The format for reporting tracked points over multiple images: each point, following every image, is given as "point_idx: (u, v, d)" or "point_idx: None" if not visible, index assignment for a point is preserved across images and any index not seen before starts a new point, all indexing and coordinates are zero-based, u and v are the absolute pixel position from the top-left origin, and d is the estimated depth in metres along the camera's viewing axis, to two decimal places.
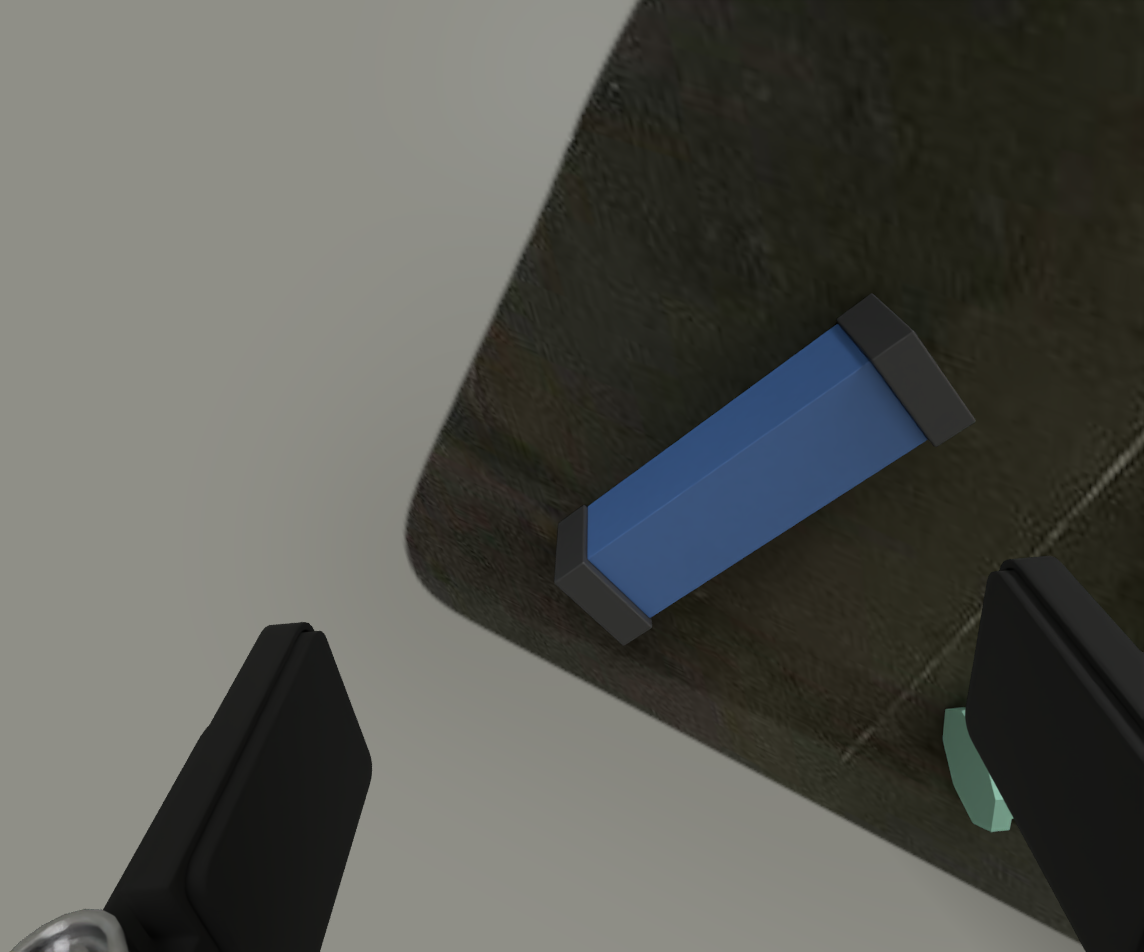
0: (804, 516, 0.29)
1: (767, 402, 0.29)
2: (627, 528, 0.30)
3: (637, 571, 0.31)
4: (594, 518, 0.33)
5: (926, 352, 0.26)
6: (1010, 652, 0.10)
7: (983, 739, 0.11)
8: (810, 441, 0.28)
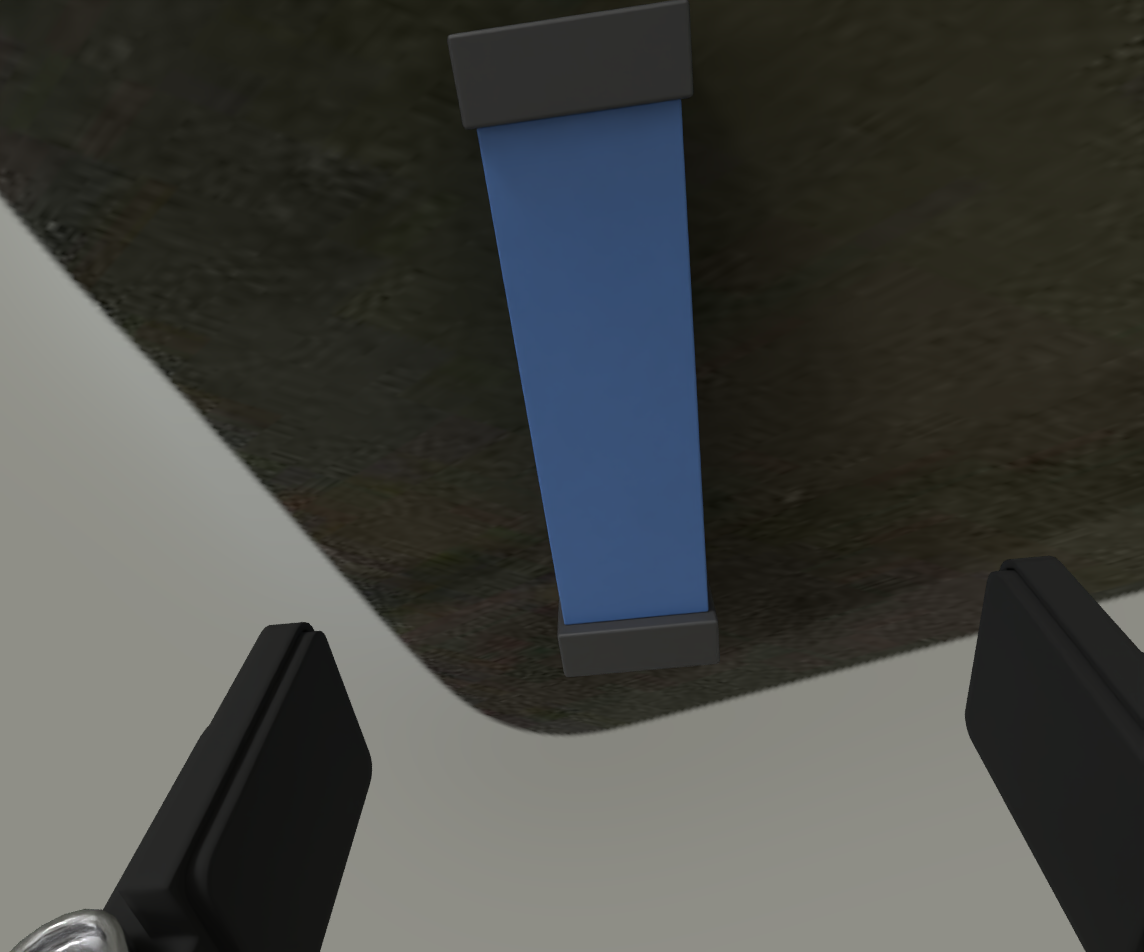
0: (689, 351, 0.17)
1: None
2: (553, 561, 0.20)
3: (624, 587, 0.21)
4: None
5: (499, 31, 0.14)
6: (1010, 652, 0.10)
7: (983, 739, 0.11)
8: (563, 281, 0.17)
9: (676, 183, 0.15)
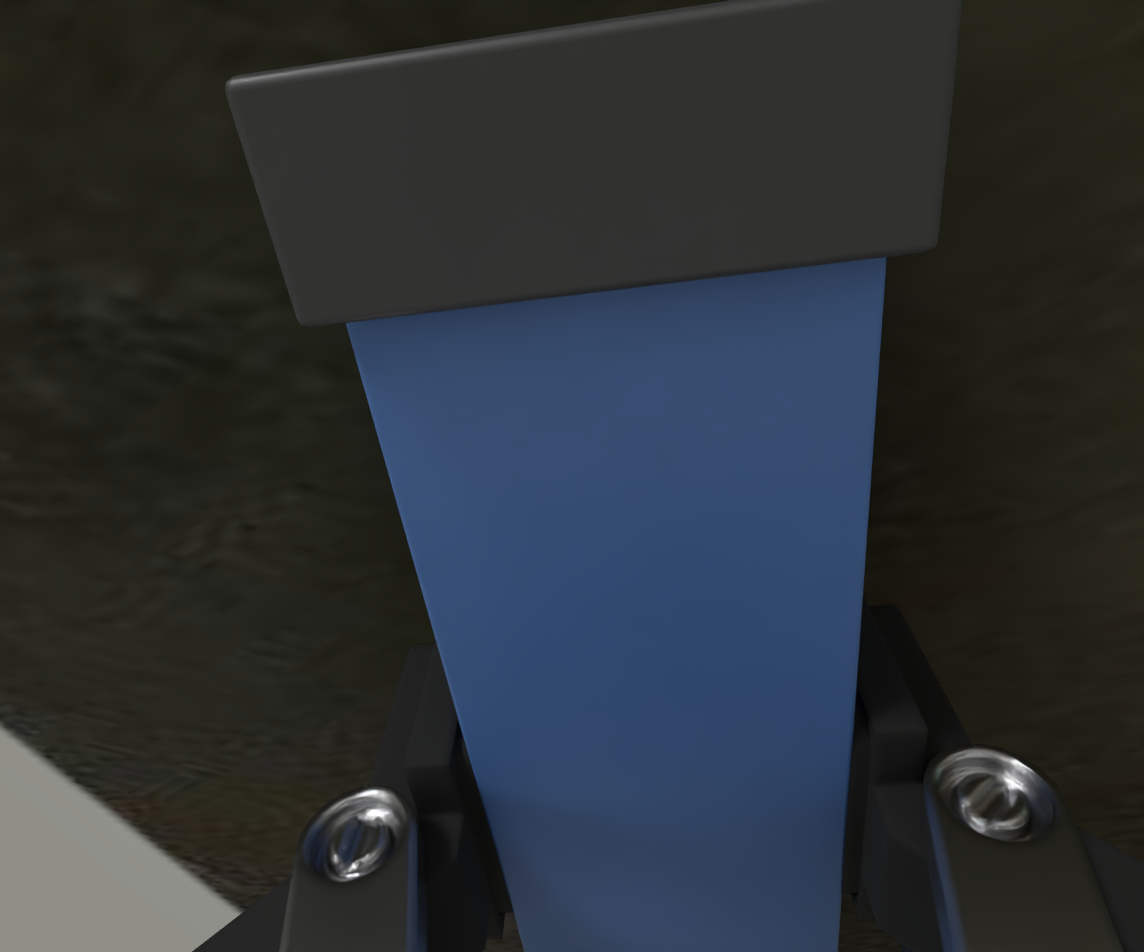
0: (842, 751, 0.08)
1: None
2: None
3: None
4: None
5: (375, 67, 0.05)
6: None
7: None
8: (566, 629, 0.07)
9: (851, 440, 0.06)
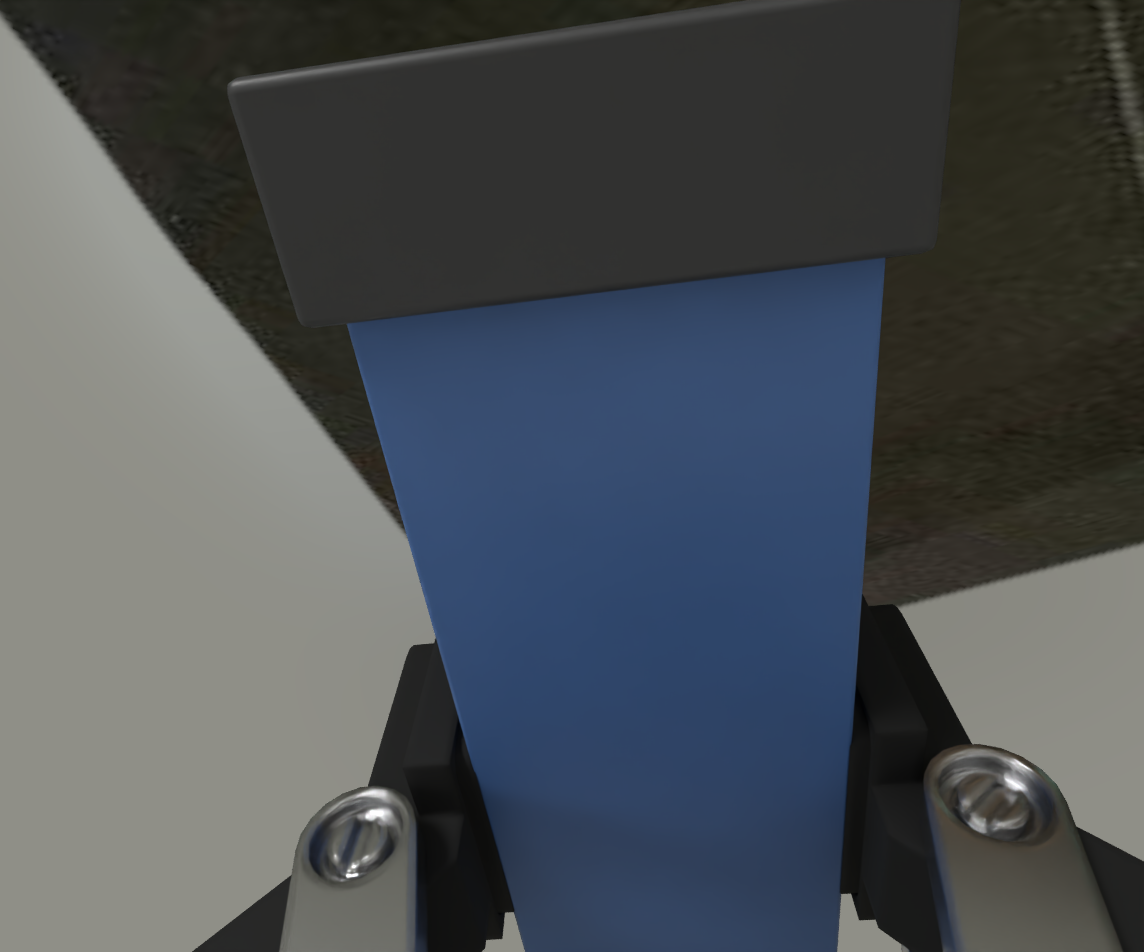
0: (841, 750, 0.08)
1: None
2: None
3: None
4: None
5: (377, 68, 0.05)
6: None
7: None
8: (567, 628, 0.07)
9: (851, 440, 0.06)
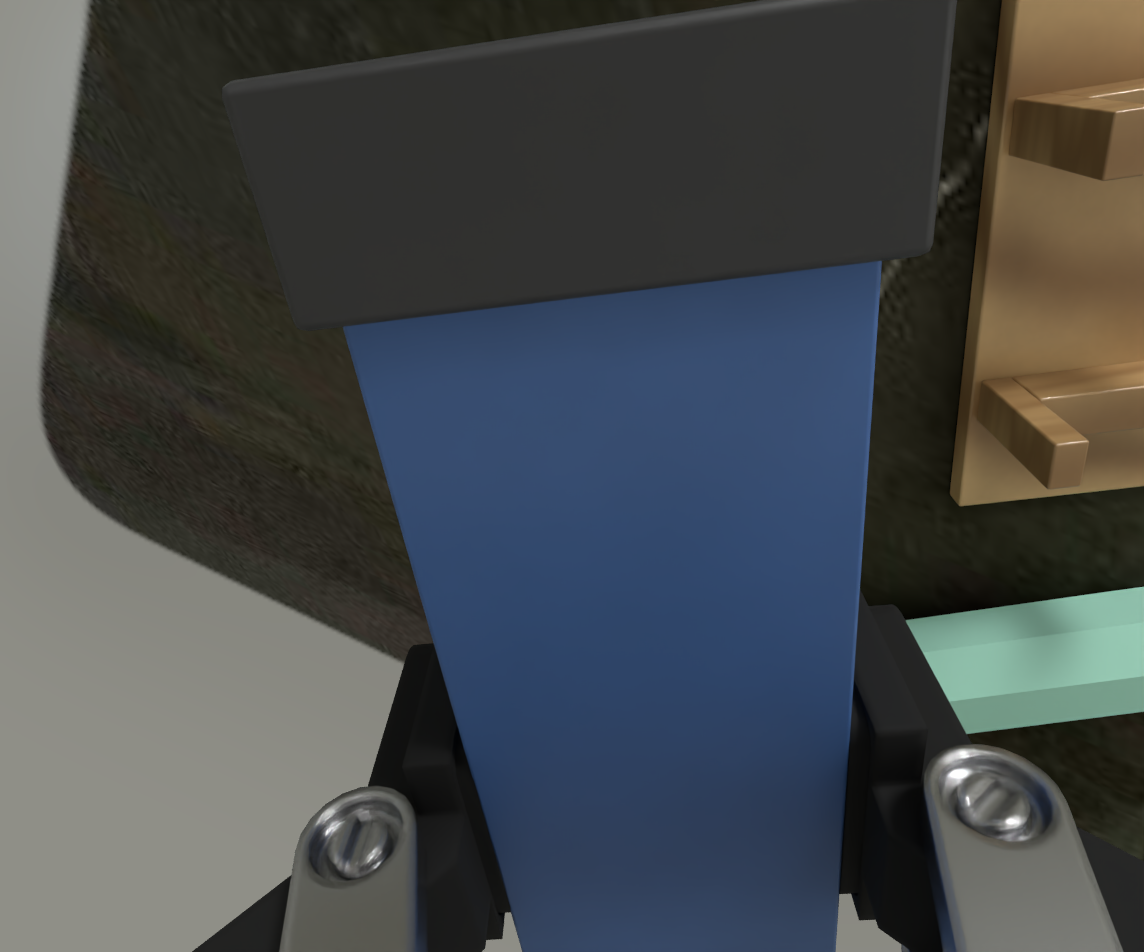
0: (839, 752, 0.08)
1: None
2: None
3: None
4: None
5: (371, 72, 0.05)
6: None
7: None
8: (563, 631, 0.07)
9: (847, 443, 0.06)
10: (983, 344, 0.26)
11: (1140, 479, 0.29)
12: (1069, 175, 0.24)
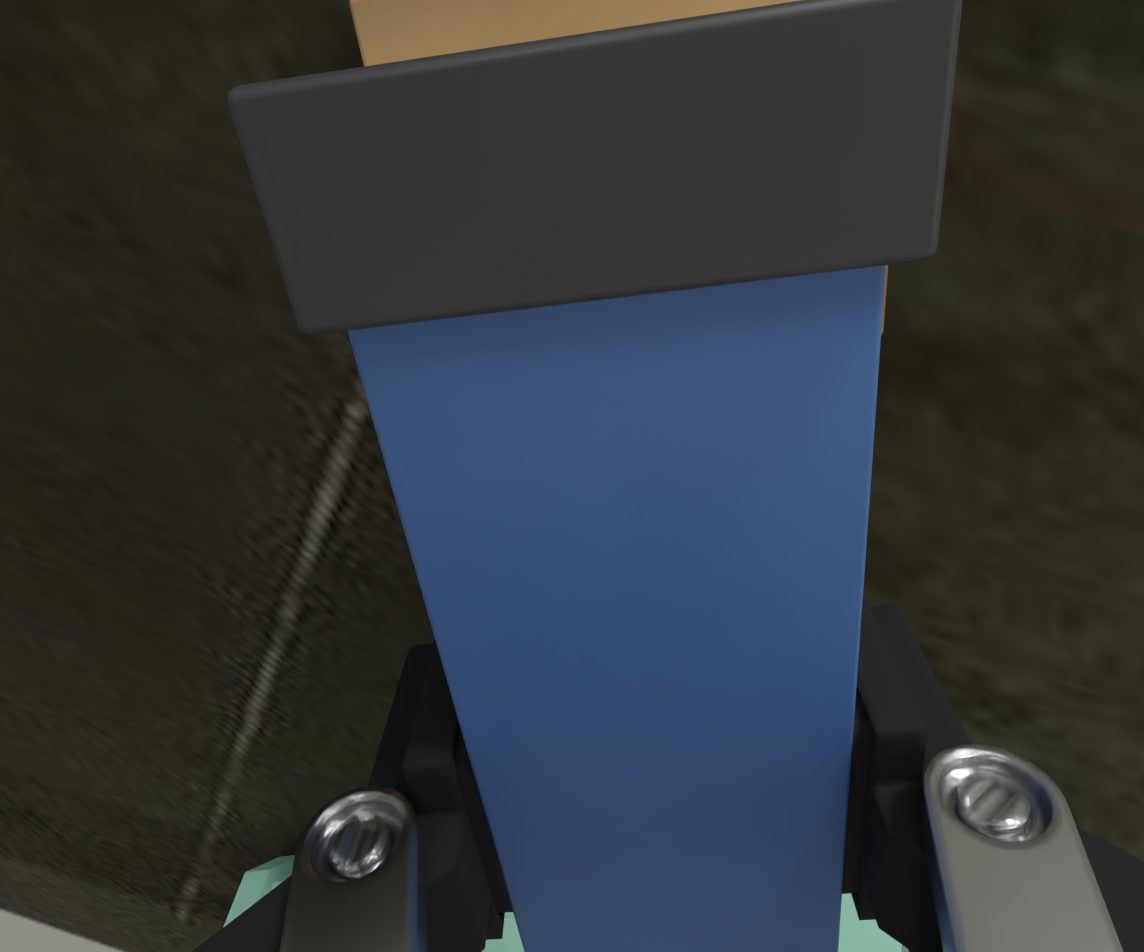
0: (842, 755, 0.08)
1: None
2: None
3: None
4: None
5: (377, 77, 0.05)
6: None
7: None
8: (567, 634, 0.07)
9: (851, 446, 0.06)
10: None
11: None
12: None
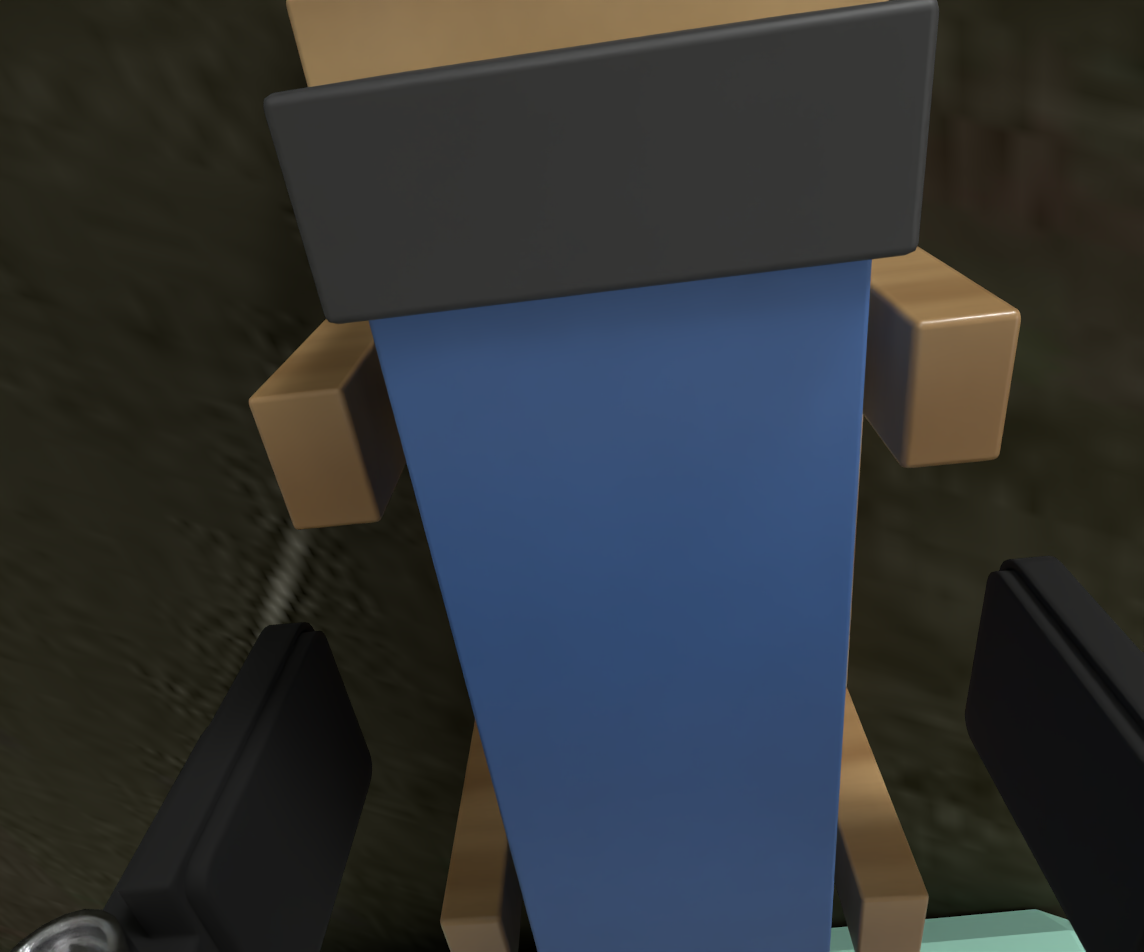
0: (834, 728, 0.08)
1: None
2: None
3: None
4: None
5: (401, 85, 0.05)
6: (1010, 652, 0.10)
7: (983, 738, 0.11)
8: (573, 611, 0.08)
9: (840, 431, 0.07)
10: None
11: None
12: None
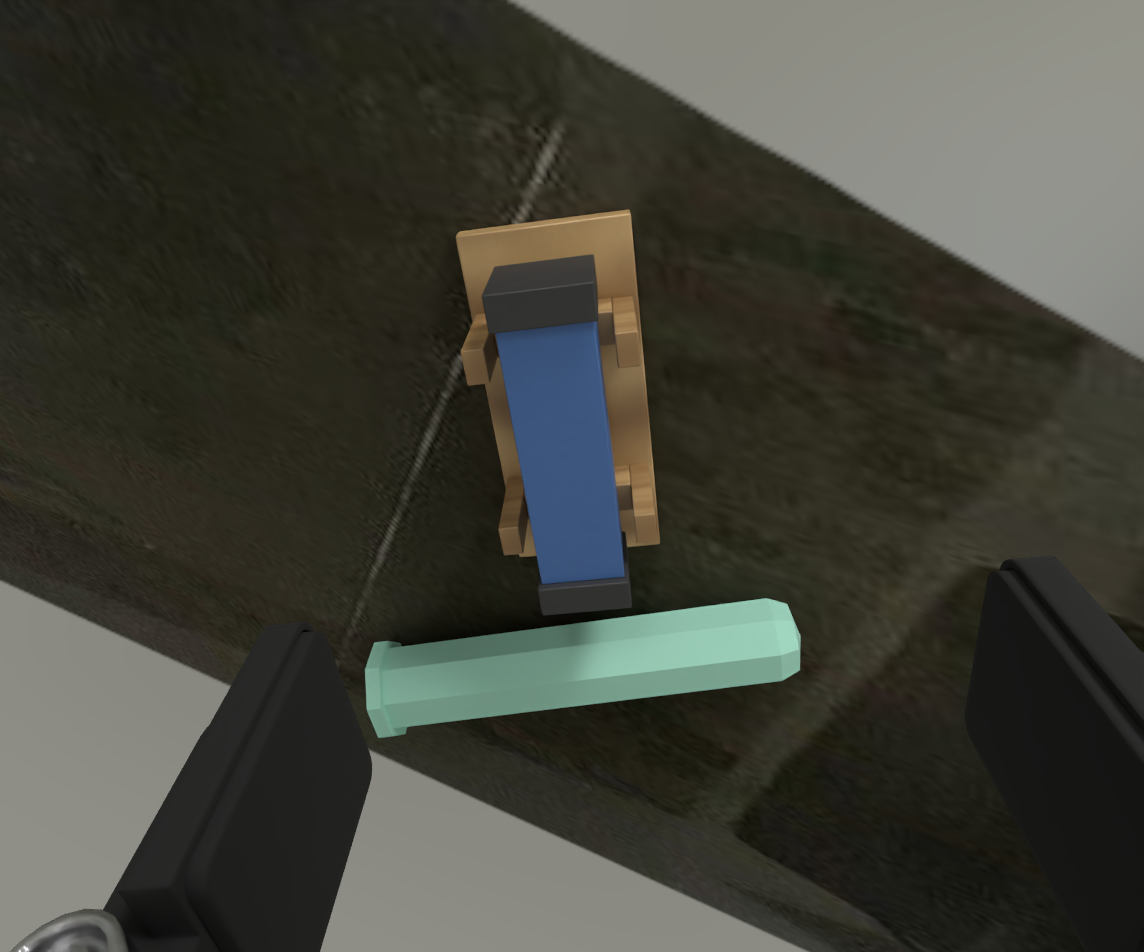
0: (604, 435, 0.33)
1: None
2: (535, 547, 0.36)
3: (575, 562, 0.36)
4: None
5: (505, 293, 0.30)
6: (1010, 652, 0.10)
7: (983, 739, 0.11)
8: (538, 401, 0.32)
9: (593, 356, 0.31)
10: (502, 455, 0.40)
11: (633, 541, 0.43)
12: None
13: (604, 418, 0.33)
